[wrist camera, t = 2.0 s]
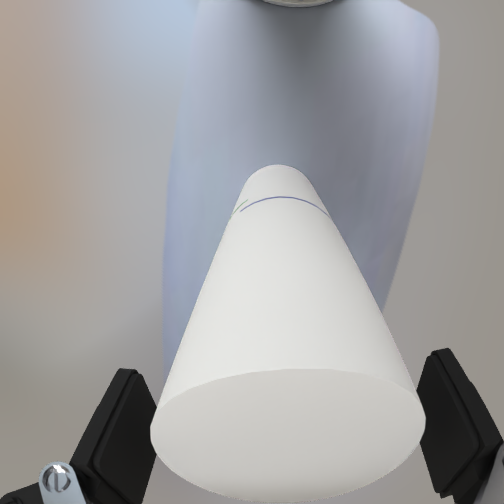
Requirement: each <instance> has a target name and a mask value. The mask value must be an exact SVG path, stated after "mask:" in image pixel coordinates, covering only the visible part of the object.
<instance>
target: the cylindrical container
mask: <svg viewBox="0 0 504 504" xmlns="http://www.w3.org/2000/svg"><path fill="white" fill-rule="evenodd" d="M425 420H426V417H425V413H424V410H423V407H422V404H421V402H420V399H419V397H418V394H417V392H416V389H415V387H414V385H413V382H412V380H411V378H410V375H409V373H408V370H407V368H406V366H405V363H404V361H403V359H402V356H401V354H400V352H399V350H398V348H397V345H396V343H395V341H394V339H393V337H392V334H391V332H390V330H389V328H388V326H387V324H386V322H385V320H384V318H383V315H382V313H381V311H380V309H379V307H378V305H377V303H376V301H375V299H374V297H373V295H372V293H371V291H370V289H369V287H368V285H367V283H366V281H365V279H364V277H363V276H362V274H361V272H360V270H359V268H358V266H357V264H356V262H355V260H354V258H353V256H352V255H351V253H350V251H349V249H348V247H347V245H346V243H345V242H344V240H343V238H342V236H341V234H340V232H339V231H338V229H337V227H336V225H335V223H334V222H333V220H332V218H331V217H330V215H329V213H328V211H327V210H326V208H325V206H324V204H323V203H322V201H321V199H320V198H319V196H318V194H317V193H316V191H315V189H314V188H313V186H312V184H311V183H310V181H309V180H308V178H307V177H306V176H305V175H304V174H303V173H301V172H300V171H299V170H297V169H295V168H293V167H290V166H286V165H269V166H266V167H263V168H261V169H259V170H257V171H256V172H254V173H253V174H252V175H251V176H250V177H249V178H248V180H247V181H246V182H245V184H244V186H243V188H242V191H241V193H240V195H239V198H238V200H237V203H236V205H235V207H234V210H233V212H232V214H231V217H230V219H229V222H228V224H227V226H226V229H225V231H224V234H223V236H222V239H221V241H220V244H219V246H218V248H217V251H216V253H215V256H214V258H213V261H212V263H211V266H210V268H209V271H208V273H207V276H206V278H205V281H204V283H203V286H202V289H201V291H200V294H199V296H198V299H197V301H196V304H195V306H194V309H193V312H192V314H191V317H190V319H189V322H188V325H187V327H186V330H185V333H184V335H183V338H182V340H181V343H180V346H179V348H178V351H177V354H176V357H175V359H174V362H173V365H172V367H171V370H170V373H169V376H168V378H167V381H166V384H165V387H164V389H163V392H162V395H161V398H160V401H159V403H158V406H157V409H156V412H155V415H154V417H153V420H152V423H151V426H150V435H151V442H152V445H153V447H154V449H155V452H156V454H157V455H158V456H159V457H160V459H161V460H162V461H163V462H164V464H166V466H168V467H169V468H170V469H171V470H172V471H173V472H175V473H176V474H177V475H179V476H180V477H182V478H184V479H185V480H187V481H188V482H190V483H192V484H194V485H196V486H198V487H201V488H203V489H205V490H208V491H211V492H214V493H217V494H220V495H223V496H226V497H231V498H235V499H240V500H246V501H253V502H263V503H297V502H308V501H315V500H320V499H326V498H330V497H334V496H338V495H342V494H345V493H348V492H351V491H353V490H356V489H359V488H362V487H364V486H366V485H368V484H370V483H372V482H374V481H376V480H378V479H380V478H382V477H383V476H385V475H386V474H388V473H389V472H391V471H392V470H394V469H395V468H397V467H398V466H399V465H400V464H401V463H402V462H403V461H404V460H406V459H407V458H408V457H409V456H410V455H411V453H412V452H413V451H414V449H415V448H416V447H417V445H418V444H419V442H420V440H421V438H422V435H423V433H424V430H425Z"/></svg>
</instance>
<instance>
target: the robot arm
mask: <svg viewBox="0 0 504 504" xmlns="http://www.w3.org/2000/svg"><path fill="white" fill-rule="evenodd" d="M263 1H265V2H268V3H272V4H276V5H280V6H288V7H310V6H317V5H321V4H324V3H328V2H330V1H332V0H303V1H299V0H263ZM416 392H417V394H418V397H419V399H420V402H421V404H422V407H423V410H424V413H425V417H426V420H425V430H424V433H423V435H422V438H421V440H420V445H421V448H422V452H423V455H424V458H425V461H426V464H427V467H428V471H429V474H430V477H431V480H432V484H433V487H434V490H435V492H436V493H440V497H441V498H445V497H447V496H450V495H453V498H454V502H455V504H504V441H503V439H502V437H501V435H500V433H499V431H498V429H497V427H496V425H495V423H494V421H493V419H492V417H491V415H490V413H489V411H488V410H487V408H486V406H485V404H484V402H483V400H482V399H481V397H480V395H479V393H478V392H477V390H476V388H475V386H474V385H473V384H472V382H470V381H469V379H468V377H467V376H466V374H465V372H464V371H463V369H462V367H461V366H460V364H459V362H458V361H457V359H456V358H455V356H454V354H453V353H452V351H451V350H450V349H449V348H445V349H440V350H436V351H432V353H431V355H430V356H428V357H427V358H426V362H425V365H424V368H423V371H422V375H421V378H420V381H419V384H418V387H417V390H416ZM156 409H157V407H156V405H155V402H154V400H153V398H152V396H151V394H150V392H149V389H148V387H147V385H146V383H145V380H144V378H143V376H142V375H141V374H139V373H138V372H137V370H135V369H122V368H120V369H119V370H118V371H117V372H116V374H115V376H114V378H113V380H112V381H111V383H110V386H109V387H108V389H107V391H106V393H105V395H104V397H103V398H102V400H101V402H100V404H99V406H98V407H97V409H96V410H95V412H94V414H93V416H92V418H91V420H90V422H89V424H88V426H87V428H86V430H85V432H84V434H83V436H82V438H81V440H80V442H79V444H78V446H77V448H76V450H75V452H74V454H73V456H72V458H71V461H70V463H69V464H67V463H64V462H60V461H56V462H52V463H50V464H48V465H46V466H45V467H44V468H43V469H42V471H41V473H40V475H39V482H37V483H35V484H32V485H30V486H27V487H24V488H21V489H19V490H16V491H13V492H10V493H7V494H6V495H4V496H3V497H2V498H1V499H0V504H142V501H143V498H144V495H145V491H146V488H147V485H148V481H149V478H150V475H151V471H152V468H153V464H154V461H155V458H156V455H157V454H156V452H155V449H154V447H153V445H152V442H151V435H150V426H151V423H152V420H153V417H154V415H155V412H156Z"/></svg>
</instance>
